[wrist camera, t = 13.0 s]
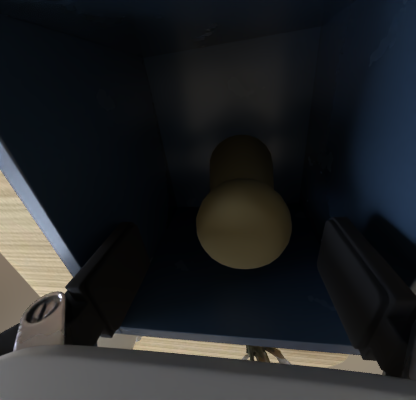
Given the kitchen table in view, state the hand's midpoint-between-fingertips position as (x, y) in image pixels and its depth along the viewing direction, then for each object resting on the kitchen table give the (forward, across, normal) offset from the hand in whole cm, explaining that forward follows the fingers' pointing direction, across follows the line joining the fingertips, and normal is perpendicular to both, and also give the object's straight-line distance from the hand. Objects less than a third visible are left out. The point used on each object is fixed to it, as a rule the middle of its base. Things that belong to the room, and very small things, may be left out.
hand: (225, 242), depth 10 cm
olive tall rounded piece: (+11, -1, 0) cm, 11 cm away
